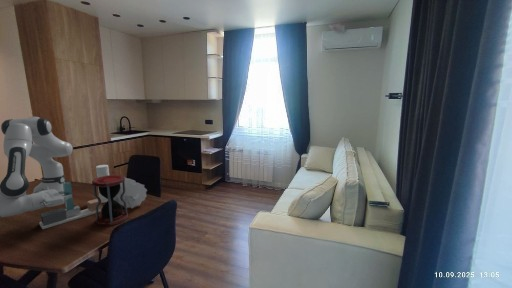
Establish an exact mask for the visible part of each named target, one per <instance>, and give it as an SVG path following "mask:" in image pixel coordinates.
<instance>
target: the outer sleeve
mask: <svg viewBox="0 0 512 288" xmlns="http://www.w3.org/2000/svg"><path fill="white" fill-rule="evenodd" d="M65 209H66V208H64V207H61V208H57V209H54V210H50V211H45V212H42V213H40V219H41V222H42V223H43V225H44V226H45V225H49V224H52V223H55V222H59V221H62V220H66V219H67V216H66V210H65Z"/></svg>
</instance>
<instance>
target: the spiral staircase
mask: <svg viewBox="0 0 512 288" xmlns="http://www.w3.org/2000/svg"><path fill="white" fill-rule="evenodd" d="M124 177H125V176H124ZM147 192H148V189H147V188H146V187H145V184H142V183H139V182H136V180H134V179H132V178H127V177H125V194H124V195H123V200H124V201H126V205H127V209H128V208H129V209H130V208H131V209H134V208H135V207H136V206H141V203H142V202H144V201H146V198H147ZM122 193H123V183H120V191H119V193H118V194H117V195H116V196H115V197H114V198H113V200H115V201H117V202H118V203H120V204H121V206H122V207H124V203H123V201H121V199H120V196H121V194H122Z"/></svg>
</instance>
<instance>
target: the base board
mask: <svg viewBox="0 0 512 288" xmlns="http://www.w3.org/2000/svg"><path fill="white" fill-rule="evenodd" d="M80 211H81V213H79V214H76V215H72V216H69V217H67V219H66V220H62V221H59V222H55V223H52V224H49V225H45V226H44V225H43V223H42V221H40V222H39V226H40V228H41V229H42V230H45V229H49V228H51V227H52V228H53V227H54V226H55V227H56V226H59V225H61V224H65V223H68V222H71V221H76V220H78V219H81V218H85V217H89V216H92V215H95V214H96V211H93V212H91V211H89V210H88V208H86V209H83V210H81V209H80ZM98 213H101V209H100V210H98Z"/></svg>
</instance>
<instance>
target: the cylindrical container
mask: <svg viewBox="0 0 512 288" xmlns="http://www.w3.org/2000/svg"><path fill="white" fill-rule="evenodd" d="M95 171H96V178H99V177H102V176H108V175H110V169H109V165H108V164H99V165H96V167H95ZM97 191H98V192H97V193H98V197H99V198H100V199H101V203H102V204H103V203H104V204H105V202H107V201H108V199H107V198H105V197H103V196H102V195H101V194H100V193H99V188H98V187H97Z"/></svg>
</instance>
